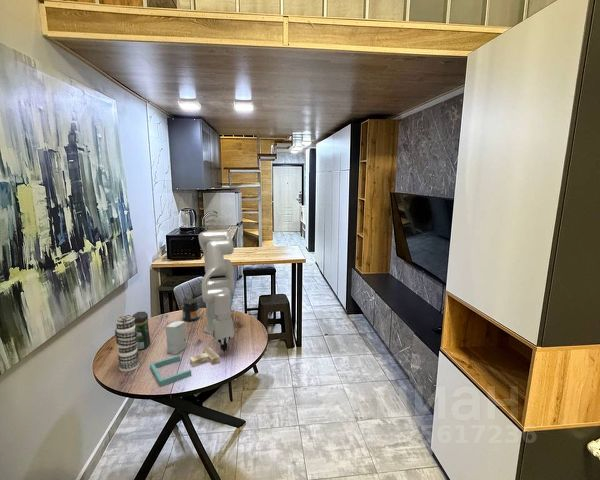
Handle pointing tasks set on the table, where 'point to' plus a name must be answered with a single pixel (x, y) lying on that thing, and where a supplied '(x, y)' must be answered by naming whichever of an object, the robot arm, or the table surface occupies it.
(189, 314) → the supplement container
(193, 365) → the tee block
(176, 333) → the skincare box
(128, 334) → the decorative candle
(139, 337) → the coffee jar
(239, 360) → the table surface
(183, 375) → the dock
